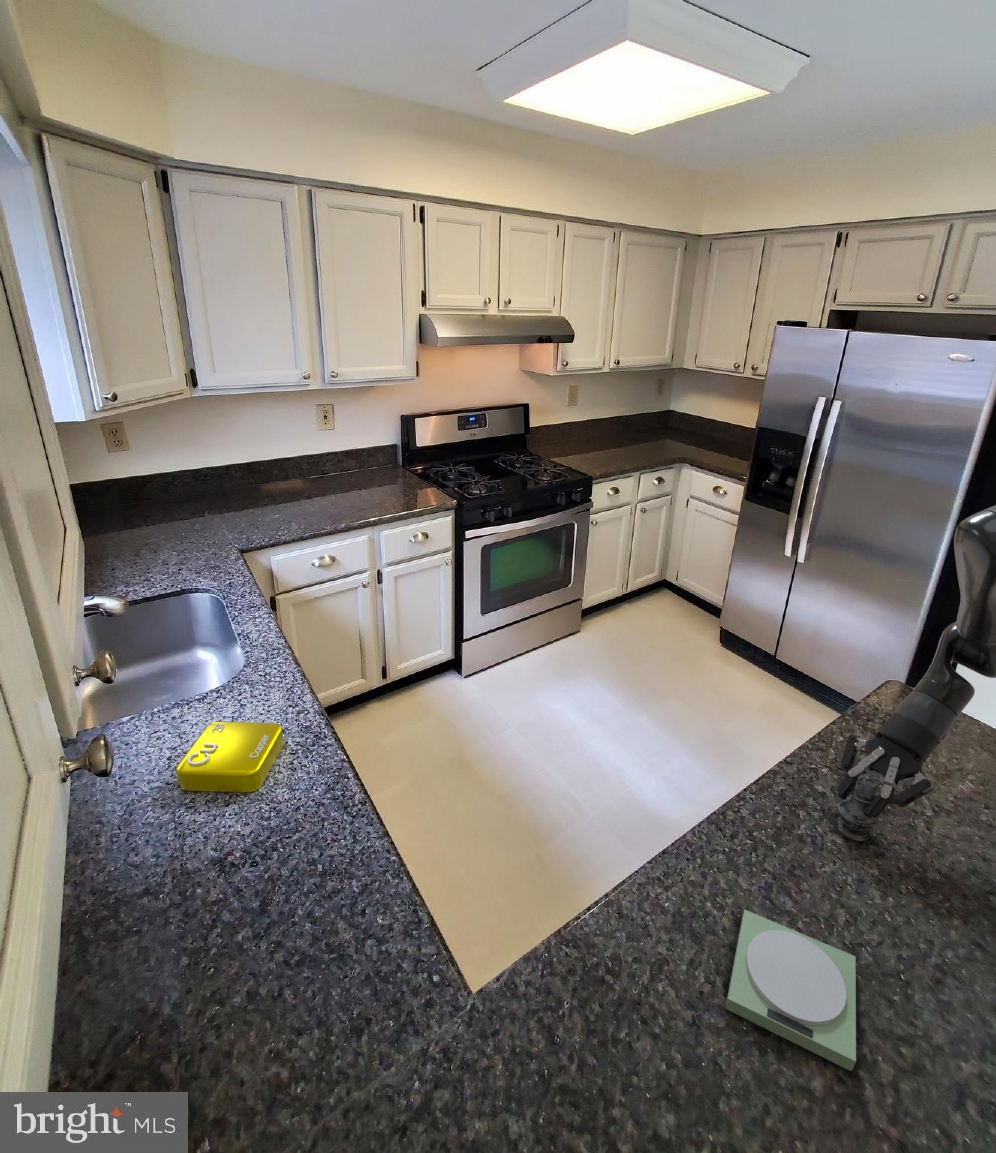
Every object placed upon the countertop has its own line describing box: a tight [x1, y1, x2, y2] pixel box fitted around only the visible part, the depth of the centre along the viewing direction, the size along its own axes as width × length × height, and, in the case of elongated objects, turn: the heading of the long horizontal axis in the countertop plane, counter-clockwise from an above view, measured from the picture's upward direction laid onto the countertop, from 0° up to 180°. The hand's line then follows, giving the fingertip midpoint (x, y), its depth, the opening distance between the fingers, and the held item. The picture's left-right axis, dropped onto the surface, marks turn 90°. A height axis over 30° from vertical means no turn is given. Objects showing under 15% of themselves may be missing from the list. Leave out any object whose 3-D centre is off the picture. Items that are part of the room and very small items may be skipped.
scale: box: [724, 909, 857, 1072], centre depth 77 cm, size 14×14×3 cm
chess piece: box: [834, 773, 879, 842], centre depth 99 cm, size 6×6×12 cm
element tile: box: [175, 721, 285, 794], centre depth 113 cm, size 15×15×5 cm
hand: (853, 806), depth 98 cm, fingers open, 4 cm apart
